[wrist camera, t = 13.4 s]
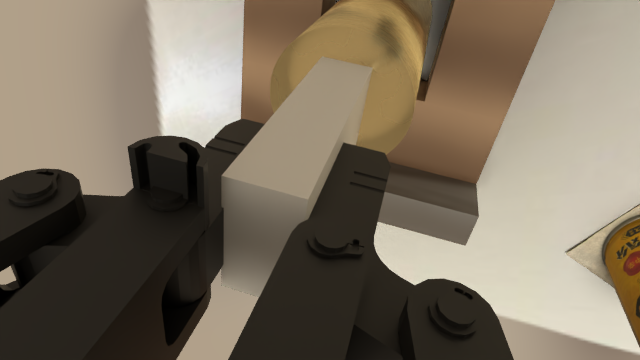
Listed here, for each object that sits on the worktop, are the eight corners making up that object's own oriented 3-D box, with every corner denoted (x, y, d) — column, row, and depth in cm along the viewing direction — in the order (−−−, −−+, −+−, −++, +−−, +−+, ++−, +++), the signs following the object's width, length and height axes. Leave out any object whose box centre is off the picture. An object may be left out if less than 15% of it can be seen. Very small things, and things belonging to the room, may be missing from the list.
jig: (273, -142, 20) (217, -154, 16) (576, -93, 19) (619, -90, 14) (257, 131, 29) (218, 177, 24) (463, 183, 27) (465, 245, 22)
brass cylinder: (354, -39, 22) (275, 11, 12) (443, -22, 21) (433, 45, 12) (340, 49, 25) (265, 146, 15) (418, 66, 24) (394, 180, 14)
